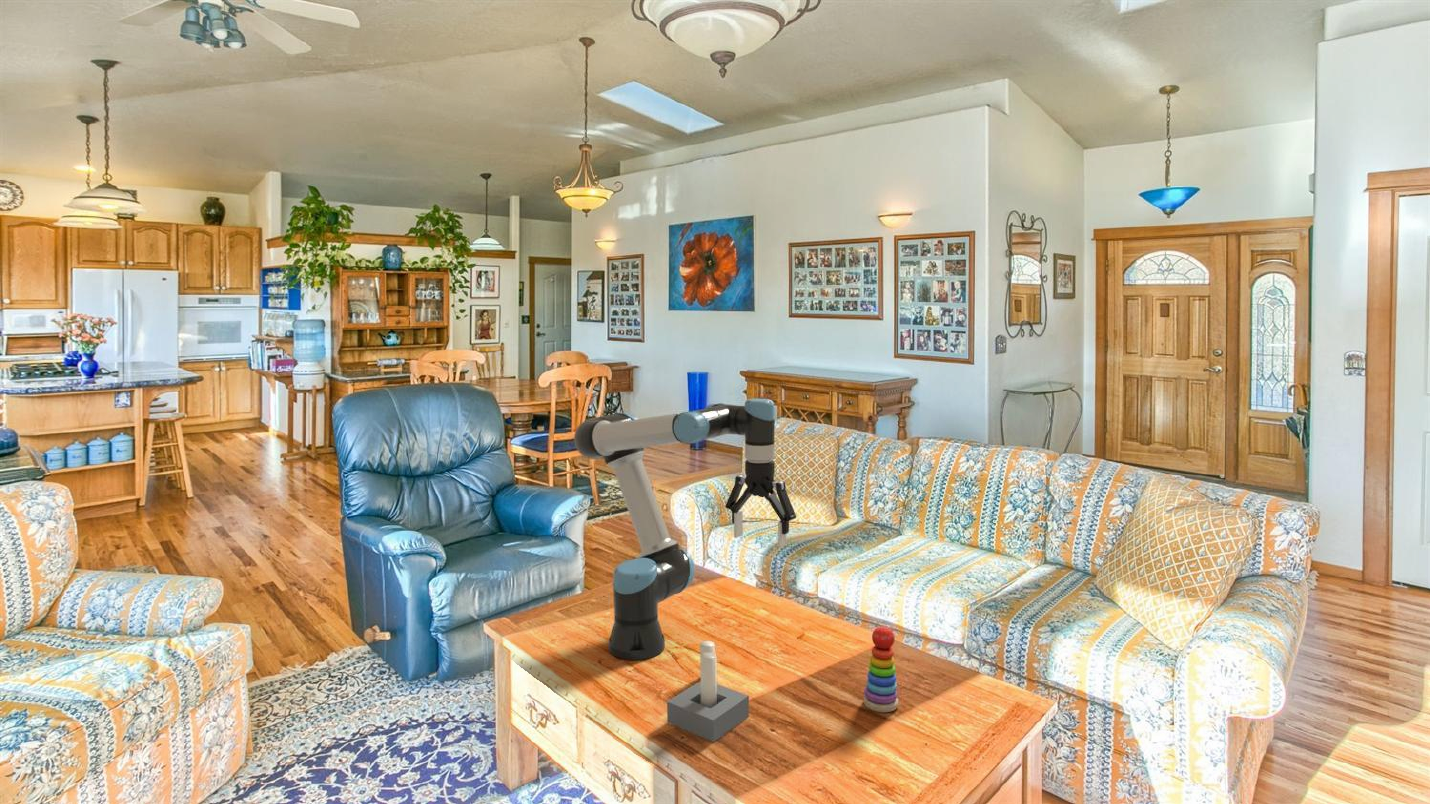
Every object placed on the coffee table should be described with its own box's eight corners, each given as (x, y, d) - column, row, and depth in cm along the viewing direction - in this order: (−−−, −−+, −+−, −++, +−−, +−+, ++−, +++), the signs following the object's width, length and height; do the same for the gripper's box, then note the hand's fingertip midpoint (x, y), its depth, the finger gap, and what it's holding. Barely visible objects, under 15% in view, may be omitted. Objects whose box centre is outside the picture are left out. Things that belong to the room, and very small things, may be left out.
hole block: (667, 722, 175) (667, 701, 174) (703, 699, 185) (703, 679, 185) (713, 742, 167) (713, 720, 167) (748, 716, 177) (748, 695, 177)
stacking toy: (899, 715, 177) (901, 636, 175) (863, 712, 179) (864, 634, 176) (898, 698, 185) (899, 622, 183) (863, 695, 187) (864, 619, 184)
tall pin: (697, 720, 176) (697, 656, 174) (707, 713, 179) (707, 651, 177) (710, 725, 174) (709, 661, 172) (719, 719, 177) (719, 655, 175)
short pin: (697, 679, 195) (697, 644, 194) (706, 673, 198) (706, 639, 197) (709, 683, 193) (708, 648, 192) (717, 678, 196) (717, 643, 194)
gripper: (810, 463, 195) (809, 546, 197) (729, 451, 210) (729, 529, 212) (793, 468, 189) (793, 554, 191) (711, 456, 204) (712, 535, 207)
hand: (759, 541), depth 202 cm, fingers open, 13 cm apart
